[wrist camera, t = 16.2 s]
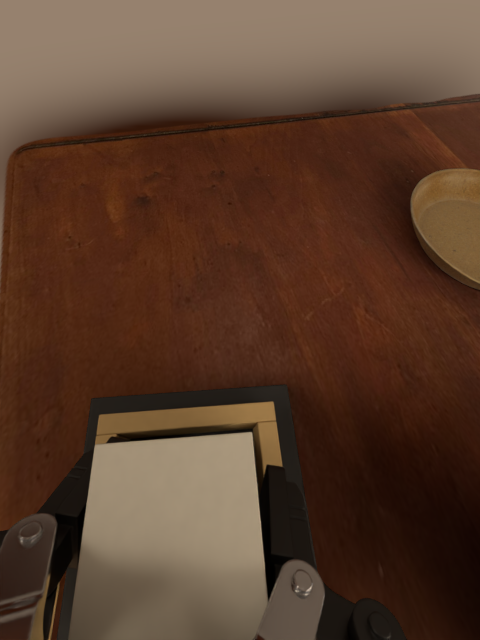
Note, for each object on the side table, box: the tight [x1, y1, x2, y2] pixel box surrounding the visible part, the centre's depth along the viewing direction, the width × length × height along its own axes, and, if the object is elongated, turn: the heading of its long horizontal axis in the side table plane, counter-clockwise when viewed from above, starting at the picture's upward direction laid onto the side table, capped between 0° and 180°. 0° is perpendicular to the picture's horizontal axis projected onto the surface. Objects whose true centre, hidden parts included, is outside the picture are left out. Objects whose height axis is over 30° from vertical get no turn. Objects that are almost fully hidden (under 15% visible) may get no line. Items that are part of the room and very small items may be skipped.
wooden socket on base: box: [57, 385, 317, 640], centre depth 15 cm, size 12×12×4 cm
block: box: [68, 432, 268, 640], centre depth 12 cm, size 5×5×8 cm
